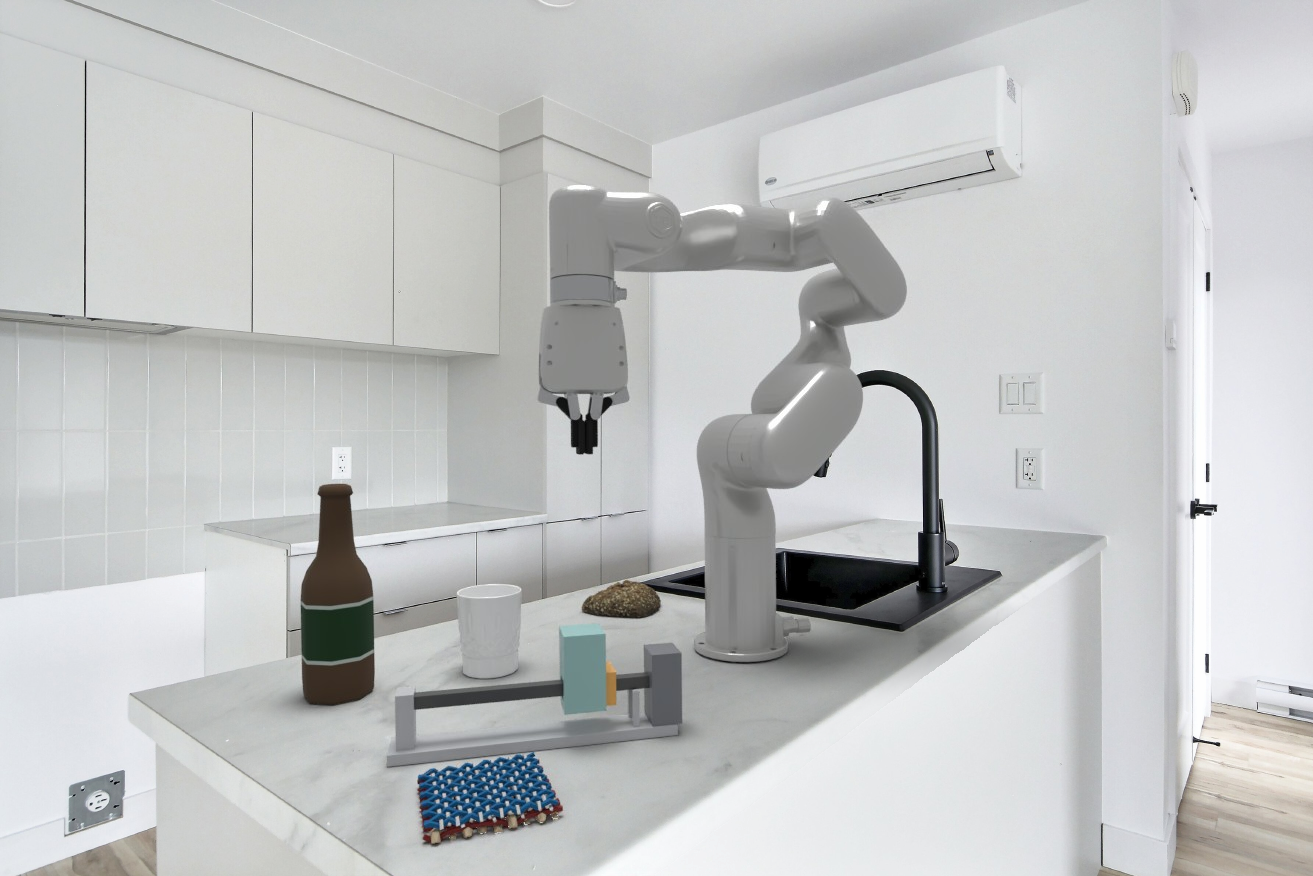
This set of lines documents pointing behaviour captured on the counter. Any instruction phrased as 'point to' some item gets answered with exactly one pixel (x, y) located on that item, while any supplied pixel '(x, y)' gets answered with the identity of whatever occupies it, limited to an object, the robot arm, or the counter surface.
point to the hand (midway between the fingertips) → (584, 453)
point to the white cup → (489, 629)
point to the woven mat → (484, 796)
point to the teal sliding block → (583, 668)
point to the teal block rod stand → (654, 722)
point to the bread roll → (623, 601)
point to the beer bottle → (337, 609)
